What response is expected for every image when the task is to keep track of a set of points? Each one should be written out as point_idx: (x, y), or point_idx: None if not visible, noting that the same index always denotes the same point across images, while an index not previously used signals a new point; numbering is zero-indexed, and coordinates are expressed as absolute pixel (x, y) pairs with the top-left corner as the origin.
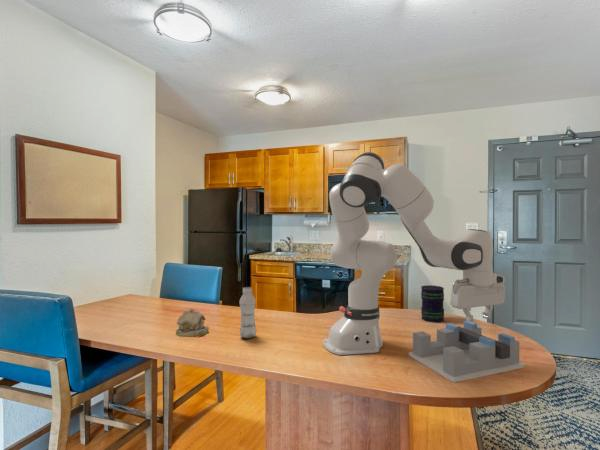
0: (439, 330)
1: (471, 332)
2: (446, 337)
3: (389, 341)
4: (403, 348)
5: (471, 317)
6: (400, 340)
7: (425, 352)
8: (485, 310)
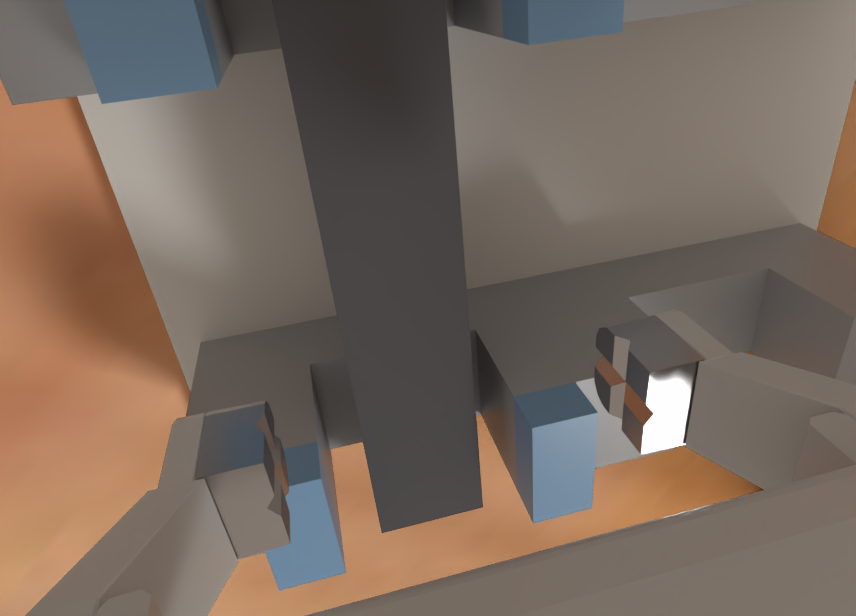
0: None
1: (388, 366)
2: None
3: (715, 495)
4: None
5: (672, 346)
6: (649, 506)
7: (788, 244)
8: (209, 590)
